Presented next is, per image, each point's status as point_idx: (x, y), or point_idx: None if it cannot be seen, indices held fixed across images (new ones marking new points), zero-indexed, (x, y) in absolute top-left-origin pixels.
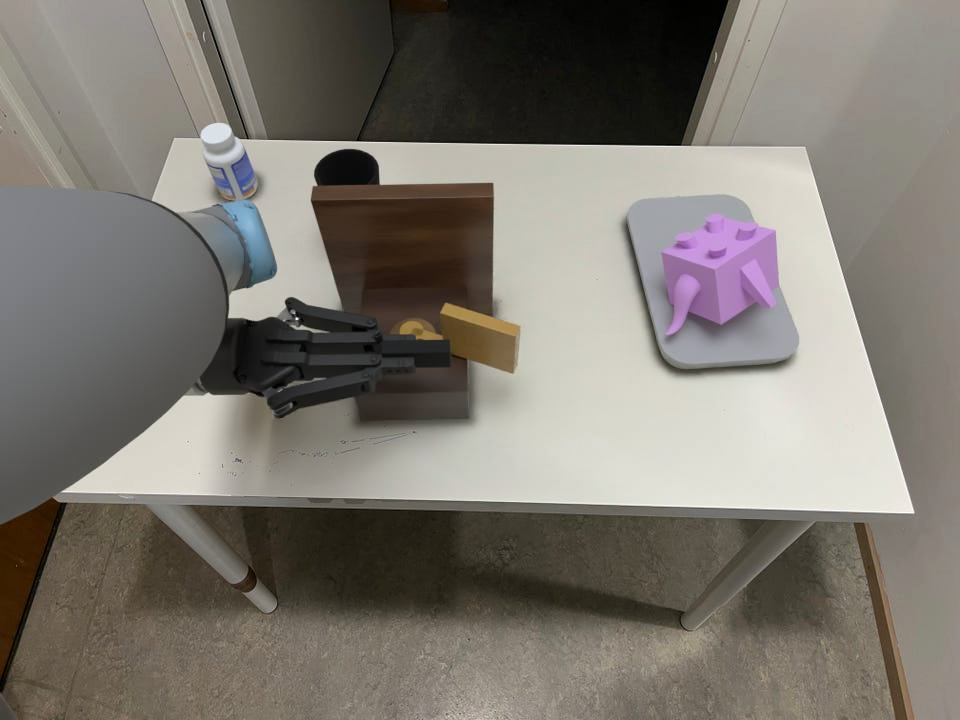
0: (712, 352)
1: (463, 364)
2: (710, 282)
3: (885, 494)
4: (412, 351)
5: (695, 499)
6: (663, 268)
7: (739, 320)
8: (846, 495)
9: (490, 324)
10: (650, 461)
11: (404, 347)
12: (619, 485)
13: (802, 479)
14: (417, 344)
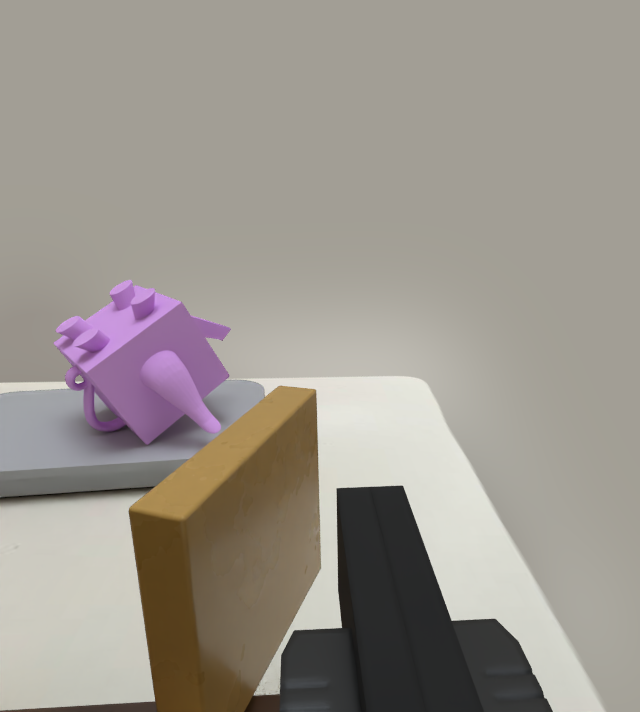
0: None
1: (274, 706)
2: (186, 329)
3: (412, 379)
4: (431, 599)
5: (469, 468)
6: (69, 449)
7: None
8: (420, 393)
9: (269, 418)
10: (423, 500)
11: (413, 636)
12: (481, 531)
13: (410, 409)
14: (379, 582)
